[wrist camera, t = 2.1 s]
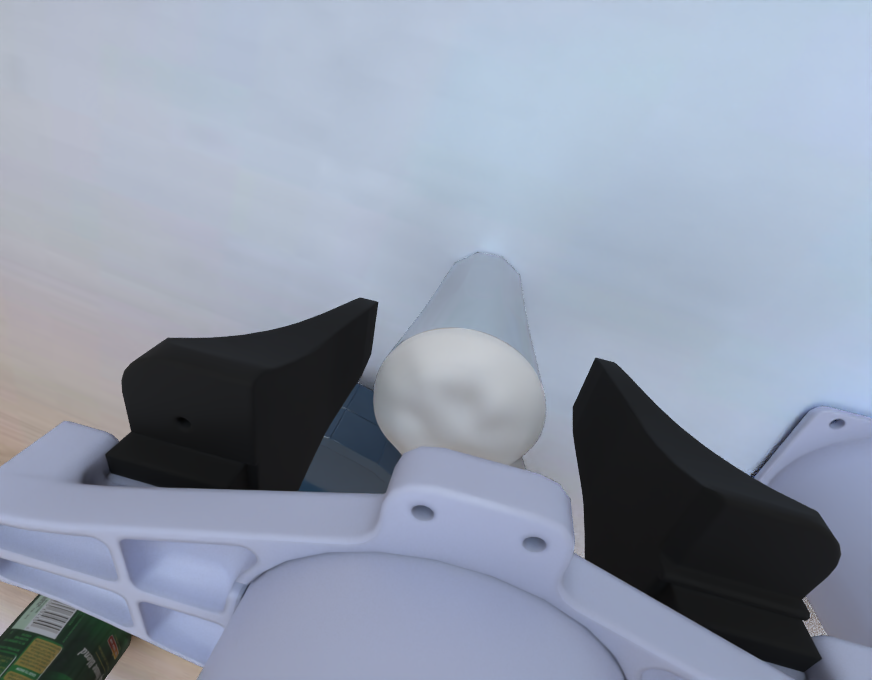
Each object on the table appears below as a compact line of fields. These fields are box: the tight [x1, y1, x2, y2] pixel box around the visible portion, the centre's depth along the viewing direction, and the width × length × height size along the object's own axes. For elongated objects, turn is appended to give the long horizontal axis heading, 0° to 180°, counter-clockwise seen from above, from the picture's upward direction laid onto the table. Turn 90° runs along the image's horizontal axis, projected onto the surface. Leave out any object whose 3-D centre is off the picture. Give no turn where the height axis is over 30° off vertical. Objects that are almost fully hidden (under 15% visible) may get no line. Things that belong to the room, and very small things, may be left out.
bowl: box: [298, 383, 402, 494], centre depth 24 cm, size 14×14×4 cm
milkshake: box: [373, 252, 546, 470], centre depth 14 cm, size 4×5×10 cm
